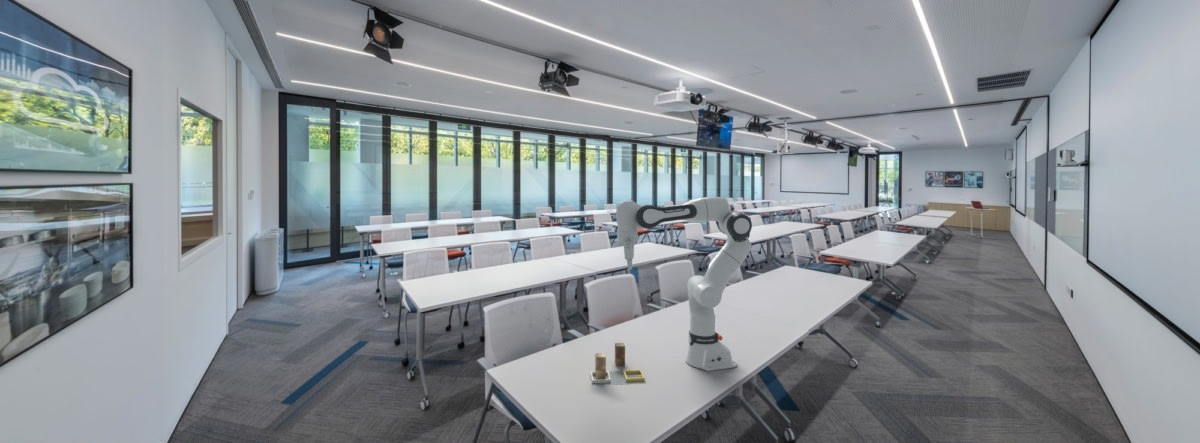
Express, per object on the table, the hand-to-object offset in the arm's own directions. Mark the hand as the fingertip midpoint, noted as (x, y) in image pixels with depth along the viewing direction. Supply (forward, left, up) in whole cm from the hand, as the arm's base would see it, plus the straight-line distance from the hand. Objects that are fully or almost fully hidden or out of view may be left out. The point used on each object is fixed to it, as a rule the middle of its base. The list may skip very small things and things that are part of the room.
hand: (630, 268), depth 191 cm
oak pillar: (+15, +14, -43) cm, 48 cm away
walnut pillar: (+5, +1, -44) cm, 44 cm away
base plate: (+8, +14, -44) cm, 47 cm away
